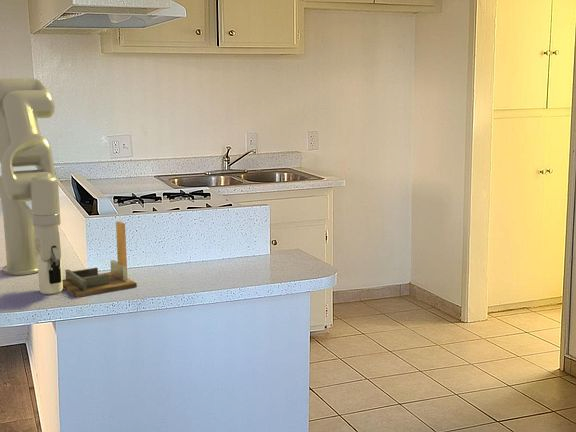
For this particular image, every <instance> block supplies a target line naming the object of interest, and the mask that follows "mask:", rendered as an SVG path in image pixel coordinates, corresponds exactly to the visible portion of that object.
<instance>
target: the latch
mask: <svg viewBox="0 0 576 432" xmlns="http://www.w3.org/2000/svg"><path fill="white" fill-rule="evenodd" d="M115 228H116V231H115V232H116V233H115V234H116V250H117V253H116V254H117V255H116V256H117V260H115V259H113V260H110V272H111V274H112V275H114V276H116V277H117V278H119V279H121V280H123V281H127V278H128V263H127V262H128V261H127V260H128V258H127V241H126V223H124V222H122V221H120V220H119V221H116V222H115Z"/></svg>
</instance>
